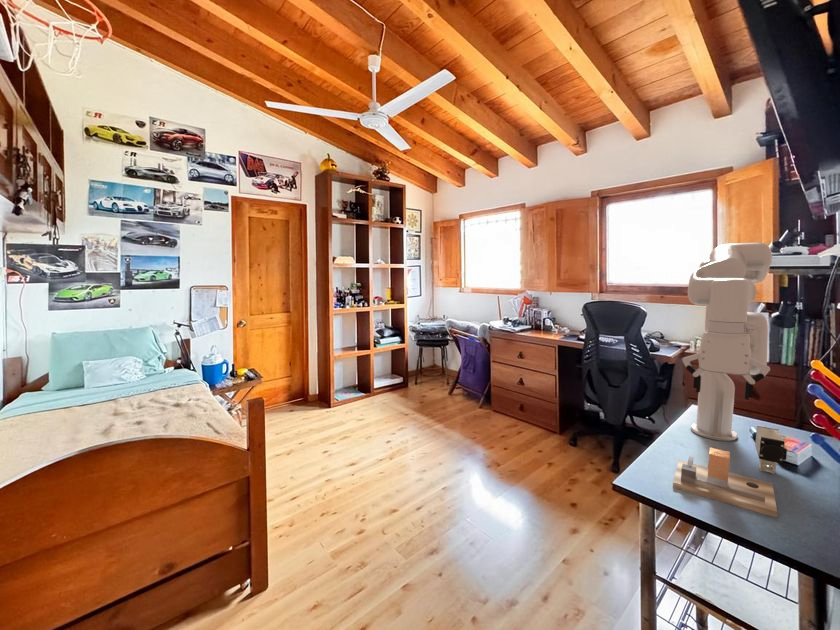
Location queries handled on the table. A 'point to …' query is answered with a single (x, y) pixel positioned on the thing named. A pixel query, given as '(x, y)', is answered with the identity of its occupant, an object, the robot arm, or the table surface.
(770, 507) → the plate
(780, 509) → the table surface
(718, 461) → the block
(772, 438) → the pneumatic valve
